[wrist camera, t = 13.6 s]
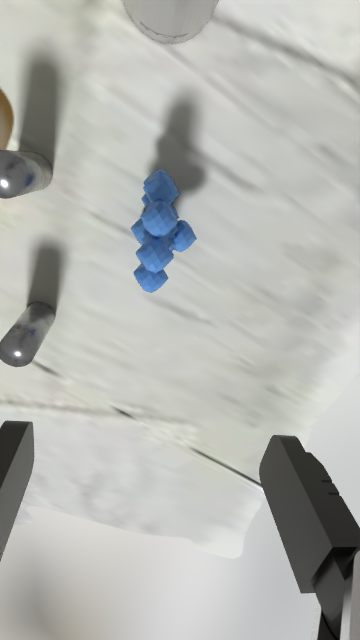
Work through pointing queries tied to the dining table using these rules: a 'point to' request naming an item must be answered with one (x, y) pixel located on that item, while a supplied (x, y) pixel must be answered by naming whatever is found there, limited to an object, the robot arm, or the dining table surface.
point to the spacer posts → (33, 325)
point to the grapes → (159, 231)
